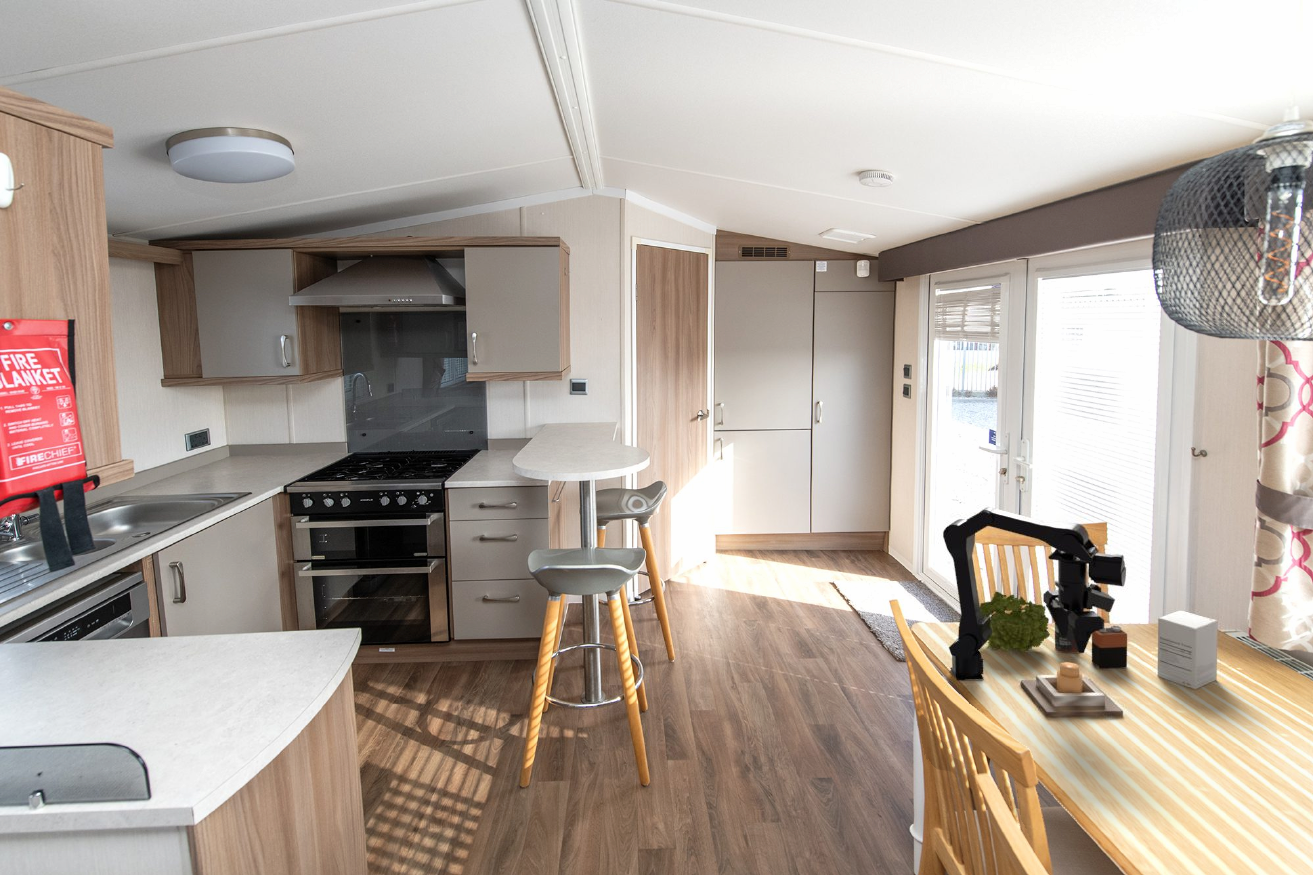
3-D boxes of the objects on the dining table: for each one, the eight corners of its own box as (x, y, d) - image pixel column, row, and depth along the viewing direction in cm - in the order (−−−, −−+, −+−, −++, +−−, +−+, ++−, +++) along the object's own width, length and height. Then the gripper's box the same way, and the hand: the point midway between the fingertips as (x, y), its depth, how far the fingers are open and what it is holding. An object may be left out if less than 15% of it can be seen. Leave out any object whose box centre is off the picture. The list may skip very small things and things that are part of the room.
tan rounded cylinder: (1062, 700, 176) (1062, 671, 175) (1053, 689, 182) (1053, 661, 181) (1086, 699, 176) (1086, 670, 175) (1076, 689, 181) (1076, 661, 180)
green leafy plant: (1031, 616, 217) (1062, 594, 204) (1031, 668, 209) (1063, 649, 195) (968, 597, 219) (995, 574, 205) (966, 649, 210) (993, 628, 197)
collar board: (1047, 717, 172) (1047, 701, 171) (1020, 684, 188) (1020, 670, 187) (1122, 716, 170) (1123, 700, 170) (1089, 683, 186) (1089, 669, 185)
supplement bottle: (1079, 646, 207) (1079, 606, 205) (1080, 655, 201) (1081, 613, 200) (1054, 644, 209) (1054, 604, 208) (1055, 652, 204) (1055, 611, 202)
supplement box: (1178, 667, 191) (1179, 609, 189) (1217, 680, 183) (1219, 620, 181) (1155, 675, 188) (1156, 616, 186) (1194, 690, 180) (1196, 628, 178)
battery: (1127, 668, 193) (1128, 630, 191) (1100, 669, 193) (1100, 631, 191) (1117, 660, 197) (1118, 623, 196) (1090, 662, 197) (1091, 624, 196)
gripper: (1130, 591, 166) (1129, 660, 168) (1091, 566, 184) (1091, 628, 186) (1075, 593, 167) (1075, 662, 169) (1042, 567, 185) (1042, 629, 187)
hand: (1072, 644), depth 178 cm, fingers open, 9 cm apart
